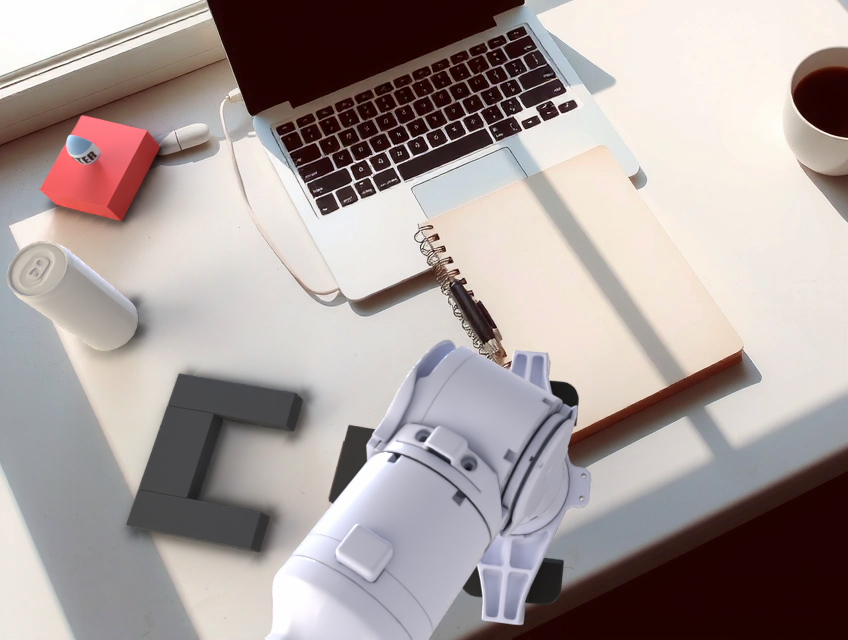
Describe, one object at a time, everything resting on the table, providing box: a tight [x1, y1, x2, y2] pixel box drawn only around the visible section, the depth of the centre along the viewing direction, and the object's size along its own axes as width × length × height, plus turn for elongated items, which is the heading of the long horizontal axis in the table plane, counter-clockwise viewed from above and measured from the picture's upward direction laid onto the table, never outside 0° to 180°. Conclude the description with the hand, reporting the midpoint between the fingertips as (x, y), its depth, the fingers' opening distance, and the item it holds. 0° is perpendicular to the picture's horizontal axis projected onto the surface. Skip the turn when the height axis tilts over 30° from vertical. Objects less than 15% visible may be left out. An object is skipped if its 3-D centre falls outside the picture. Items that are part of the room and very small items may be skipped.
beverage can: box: [6, 240, 139, 352], centre depth 73 cm, size 5×5×12 cm
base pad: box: [125, 373, 304, 553], centre depth 72 cm, size 12×10×2 cm
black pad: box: [328, 424, 377, 505], centre depth 60 cm, size 5×8×3 cm, turn 79°
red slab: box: [39, 114, 161, 222], centre depth 82 cm, size 8×7×6 cm
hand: (532, 500), depth 59 cm, fingers open, 7 cm apart
